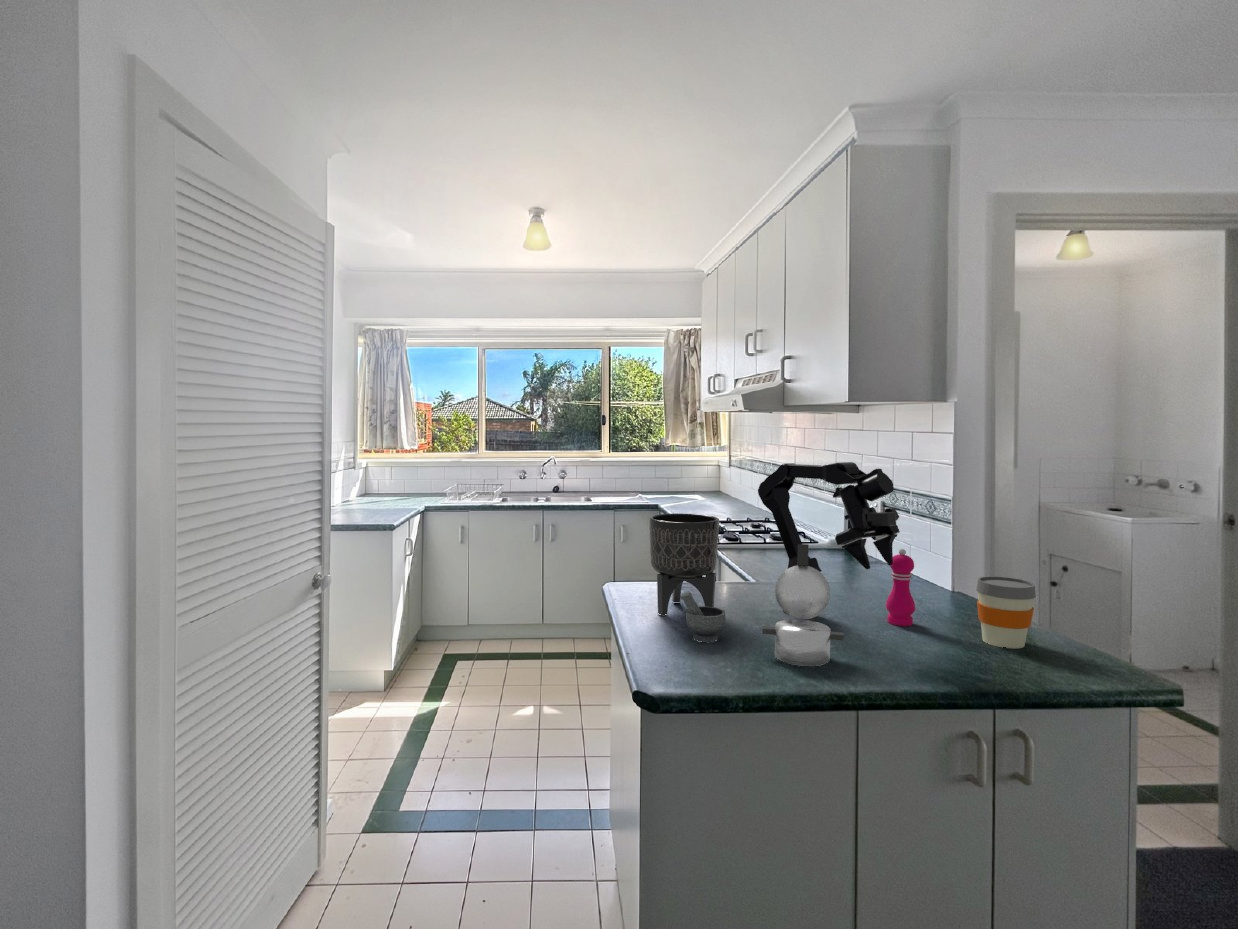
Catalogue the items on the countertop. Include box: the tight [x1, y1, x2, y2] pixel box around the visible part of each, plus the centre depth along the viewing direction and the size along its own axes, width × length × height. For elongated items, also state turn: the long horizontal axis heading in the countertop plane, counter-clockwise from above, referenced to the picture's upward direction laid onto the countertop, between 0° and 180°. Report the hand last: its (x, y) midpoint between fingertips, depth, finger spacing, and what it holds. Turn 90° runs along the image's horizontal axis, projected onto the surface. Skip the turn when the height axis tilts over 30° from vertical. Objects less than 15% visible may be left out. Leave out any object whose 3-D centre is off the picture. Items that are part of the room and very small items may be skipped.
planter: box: [648, 512, 720, 615], centre depth 187 cm, size 20×20×26 cm
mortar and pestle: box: [680, 590, 726, 643], centre depth 162 cm, size 11×9×12 cm
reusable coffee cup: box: [975, 575, 1037, 649], centre depth 162 cm, size 13×13×15 cm
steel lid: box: [774, 543, 831, 620], centre depth 159 cm, size 18×13×1 cm
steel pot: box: [761, 618, 845, 666], centre depth 150 cm, size 12×18×7 cm
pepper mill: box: [885, 548, 916, 627], centre depth 178 cm, size 7×7×20 cm
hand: (879, 567), depth 165 cm, fingers open, 9 cm apart
